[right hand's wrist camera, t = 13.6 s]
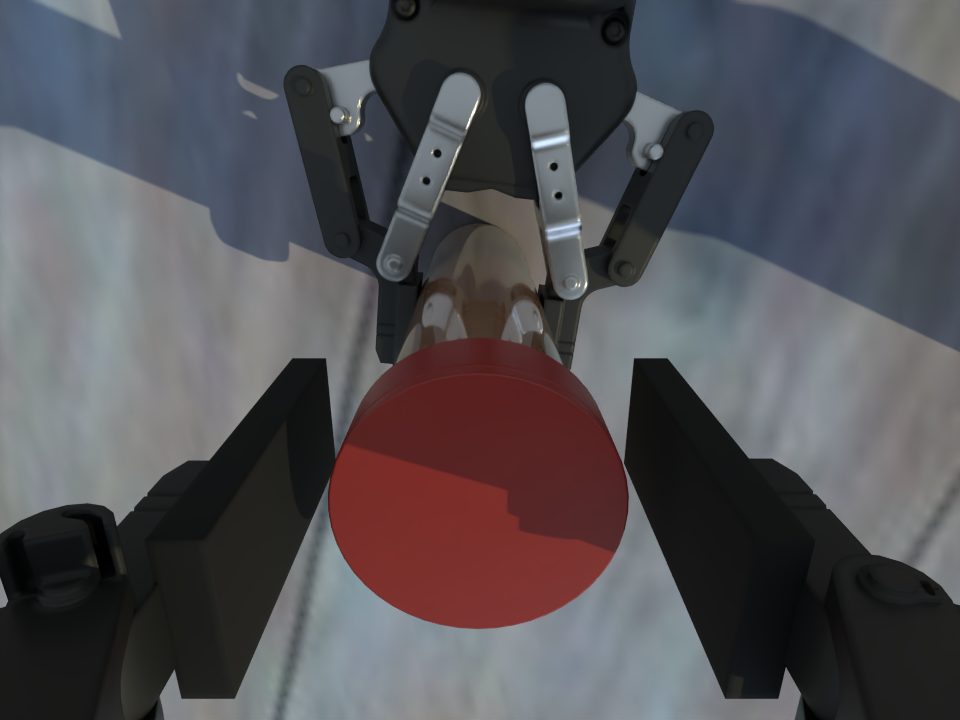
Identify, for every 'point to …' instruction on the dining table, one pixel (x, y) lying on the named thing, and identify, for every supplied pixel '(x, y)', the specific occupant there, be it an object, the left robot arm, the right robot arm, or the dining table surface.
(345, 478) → the lid
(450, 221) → the dining table surface
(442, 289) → the wooden cylinder
